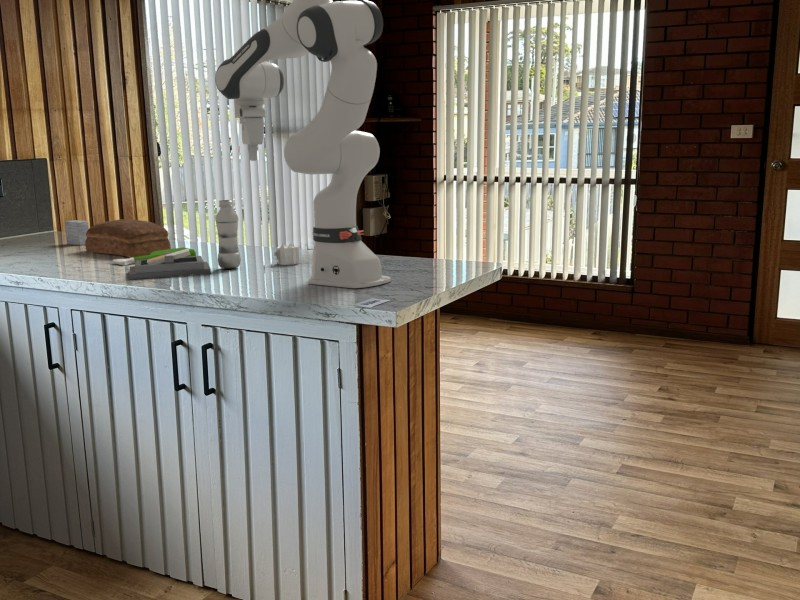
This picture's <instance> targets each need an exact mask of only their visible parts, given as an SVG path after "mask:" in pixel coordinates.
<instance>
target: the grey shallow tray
mask: <svg viewBox="0 0 800 600" xmlns="http://www.w3.org/2000/svg"><path fill="white" fill-rule="evenodd" d="M170 253H173V252H164V255H167V254H170ZM147 260H148V259H141V260H135V264H134V266H129V271H128V280H130V281H132V280H143V279H144V280H145V279H158V278H172V277H173V278H174V277H187V276H202V275H203V276H204V275H211V274H212V273H211V271H212V270H211V267H210V265H209V262H208V261H204V259H203V257H202V255H196V256H190V257H181V258H178V259H174V257H173V255H169V256H165V262H164V263H160V264H150V265H148V263H147Z"/></svg>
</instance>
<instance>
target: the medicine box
mask: <svg viewBox="0 0 800 600" xmlns="http://www.w3.org/2000/svg"><path fill="white" fill-rule="evenodd" d="M64 227H65V236H66V244H67V245H75V246H85V241H86V239H87V237H86V233H87V230H88V229H89V221H87V220H79V219H78V220H77V219H76V220H75V219H74V220H67V221H64Z"/></svg>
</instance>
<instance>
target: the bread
mask: <svg viewBox="0 0 800 600" xmlns="http://www.w3.org/2000/svg"><path fill="white" fill-rule="evenodd" d="M86 237H87V239H86V241H85V245H84V246H85V249H86V251H87V252H89V253H90V252H91V253H99V254H104V255H113V256H119V257H120V256H121V257H127V258H132V257H139V256H145V255H150V253H152V252H154V251H159V250H166V249H172V246H171V241H170V239H169V231H168V230H167V229H166V228H165V227H163V226H162V225H159V224H157V223H155V222H151V221H147V220H139V219H130V218H129V219H127V218H126V219H125V218H123V219H121V218H119V219H115V220H108V221H107V220H106V221H103V222H99V223H96V224H94V225H92V226H91V227H88V230H87V233H86Z"/></svg>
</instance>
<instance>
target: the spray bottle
mask: <svg viewBox="0 0 800 600" xmlns="http://www.w3.org/2000/svg"><path fill="white" fill-rule="evenodd" d="M188 248H189V247H188ZM188 248H187V247H178V248H177V247H176V248H175V247H174V248H171V249H166V250H159V251H154V252H152V253H150V255H145V256H139V257H127V258H117V259H112V263H113V264H116V265H120V266H128V265H135V260H141V259H151V258H155V257H158V256H162V255H164V252H173V253H174V252H177V251H181V250H184V249H188ZM189 251H190V254H191V255H188V256H185V257H190V256H197V254H196V253H197V252H196V251H195V249H193V248H189Z"/></svg>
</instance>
